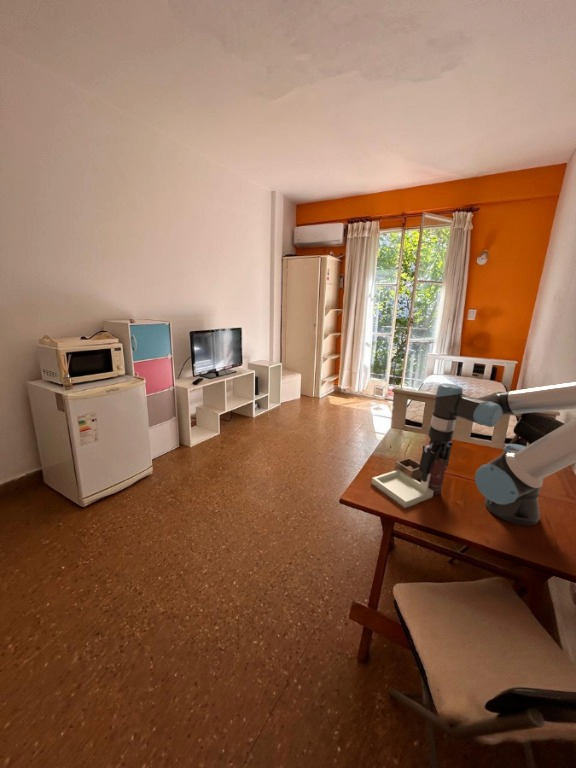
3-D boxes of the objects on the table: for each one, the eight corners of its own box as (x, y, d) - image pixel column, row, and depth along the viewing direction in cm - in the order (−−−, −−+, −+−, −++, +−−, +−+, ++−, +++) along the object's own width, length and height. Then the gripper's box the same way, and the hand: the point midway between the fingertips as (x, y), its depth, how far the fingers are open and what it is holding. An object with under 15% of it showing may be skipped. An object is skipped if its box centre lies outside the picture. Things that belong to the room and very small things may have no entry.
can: (436, 486, 120) (443, 452, 116) (443, 496, 114) (449, 461, 110) (420, 484, 121) (426, 451, 117) (425, 494, 115) (431, 460, 111)
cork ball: (414, 474, 126) (416, 467, 125) (409, 476, 125) (410, 469, 124) (408, 471, 129) (409, 464, 128) (402, 472, 127) (404, 465, 126)
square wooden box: (423, 477, 125) (425, 466, 124) (409, 482, 122) (411, 471, 120) (407, 468, 132) (409, 457, 131) (393, 472, 128) (395, 461, 127)
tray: (432, 497, 113) (433, 491, 113) (405, 508, 107) (406, 501, 106) (397, 475, 127) (398, 469, 126) (371, 483, 120) (372, 477, 119)
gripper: (448, 420, 118) (436, 475, 124) (414, 427, 109) (403, 486, 115) (468, 428, 112) (454, 485, 118) (433, 436, 103) (421, 498, 108)
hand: (429, 486), depth 116 cm, fingers open, 6 cm apart
